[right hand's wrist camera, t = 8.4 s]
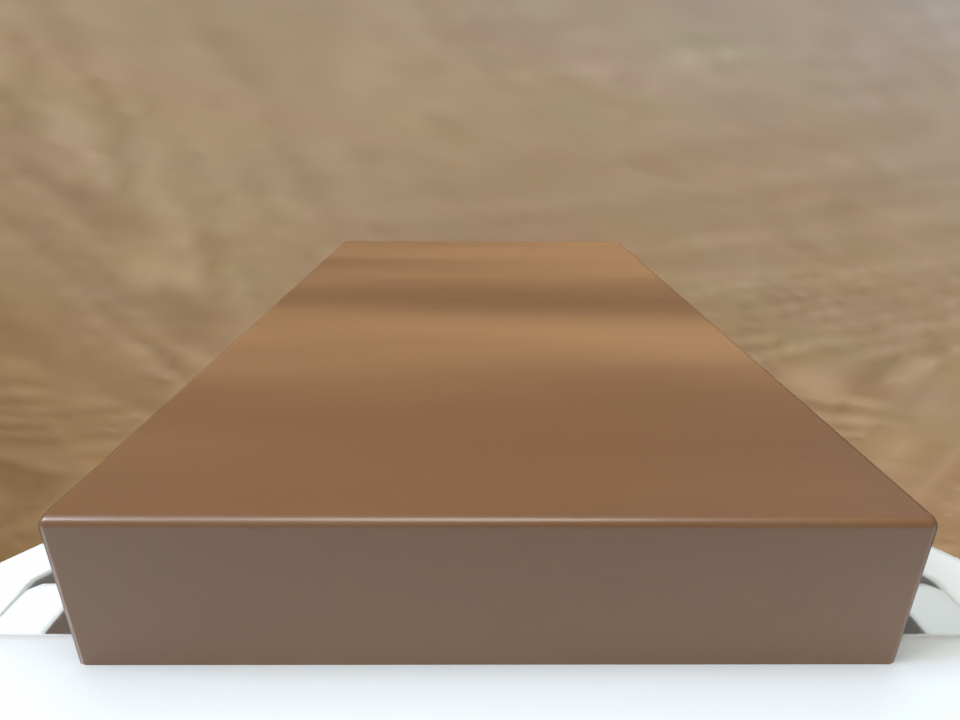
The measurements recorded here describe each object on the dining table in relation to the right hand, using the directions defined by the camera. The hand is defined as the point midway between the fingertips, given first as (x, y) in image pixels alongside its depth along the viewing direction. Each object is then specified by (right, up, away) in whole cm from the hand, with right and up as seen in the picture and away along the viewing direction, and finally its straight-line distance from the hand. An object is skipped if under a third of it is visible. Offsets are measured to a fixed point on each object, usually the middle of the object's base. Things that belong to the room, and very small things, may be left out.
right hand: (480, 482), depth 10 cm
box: (0, -5, +8) cm, 9 cm away
